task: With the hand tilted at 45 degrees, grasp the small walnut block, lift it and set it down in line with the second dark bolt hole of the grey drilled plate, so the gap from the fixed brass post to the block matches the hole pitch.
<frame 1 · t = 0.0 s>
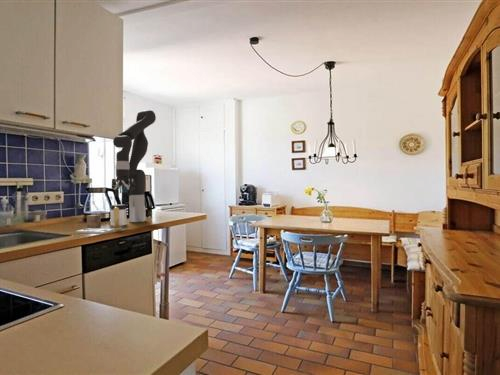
hand: (122, 196, 190), 17 cm above the counter, tool pointing down, fingers open, 8 cm apart
drilled plate: (95, 231, 165), on the counter
walnut block: (94, 227, 182), on the counter
jar: (118, 225, 190), on the counter
brass post: (116, 229, 172), on the counter
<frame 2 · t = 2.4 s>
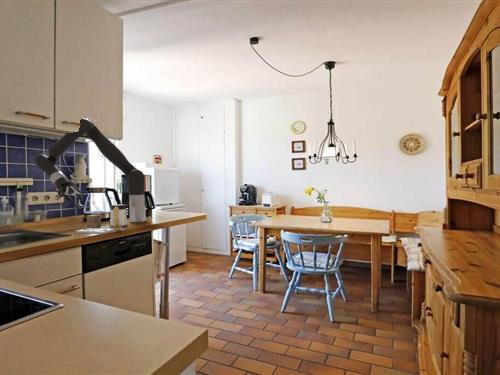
hand: (76, 200, 184), 15 cm above the counter, tool tilted 45°, fingers open, 8 cm apart
nothing on the counter moved.
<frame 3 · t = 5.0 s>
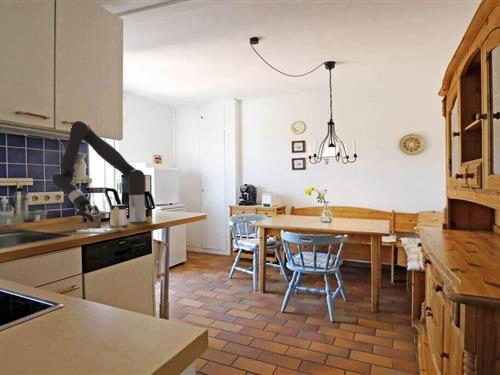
hand: (96, 220, 181), 4 cm above the counter, tool tilted 45°, fingers closed on walnut block, 5 cm apart
walnut block: (93, 227, 182), on the counter, touching gripper
everything else where it was.
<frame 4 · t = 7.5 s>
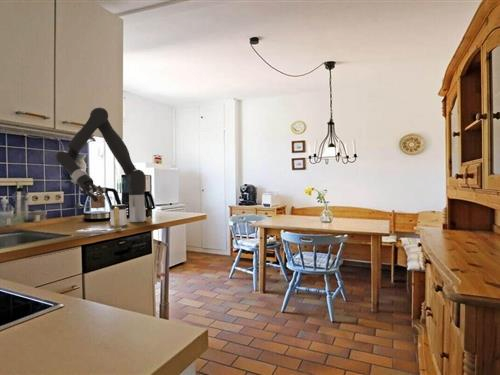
hand: (100, 200, 175), 16 cm above the counter, tool tilted 45°, fingers closed on walnut block, 5 cm apart
walnut block: (97, 207, 175), point 12 cm above the counter, touching gripper
everything else where it was.
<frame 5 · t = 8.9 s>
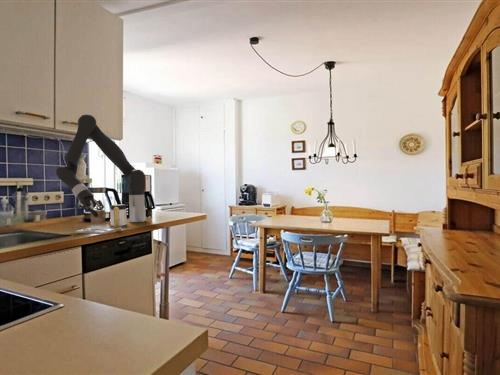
hand: (100, 215, 175), 8 cm above the counter, tool tilted 45°, fingers closed on walnut block, 5 cm apart
walnut block: (98, 222, 175), point 3 cm above the counter, touching gripper
everything else where it was.
when the fingers open (5 cm above the counter, at t = 9.9 s): walnut block stays where it is, on the counter.
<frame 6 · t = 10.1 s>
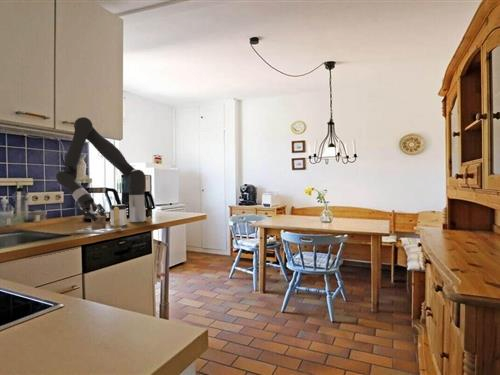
hand: (100, 219, 175), 5 cm above the counter, tool tilted 45°, fingers open, 6 cm apart
walnut block: (98, 228, 176), on the counter
everything else where it was.
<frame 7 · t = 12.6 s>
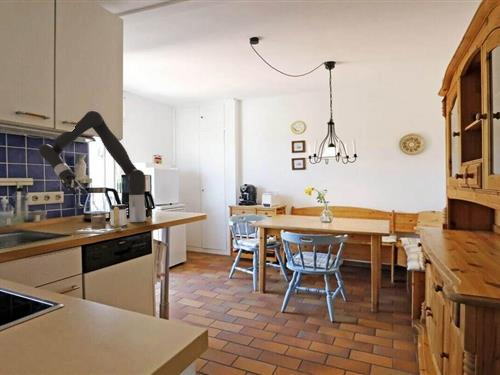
hand: (80, 194, 180), 19 cm above the counter, tool tilted 40°, fingers open, 8 cm apart
nothing on the counter moved.
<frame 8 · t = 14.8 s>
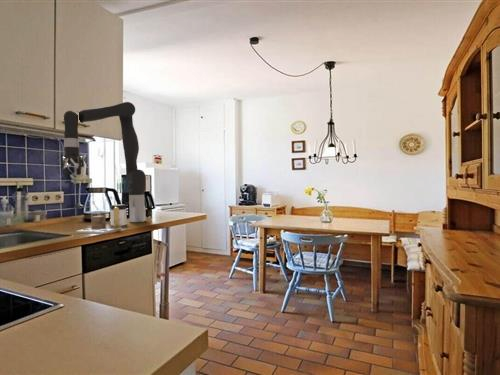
hand: (72, 175, 182), 30 cm above the counter, tool pointing down, fingers open, 8 cm apart
nothing on the counter moved.
at the end: walnut block inside the target area (0.1 cm from its centre), on the counter; walnut block tilted 0°; the gripper is holding nothing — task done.
